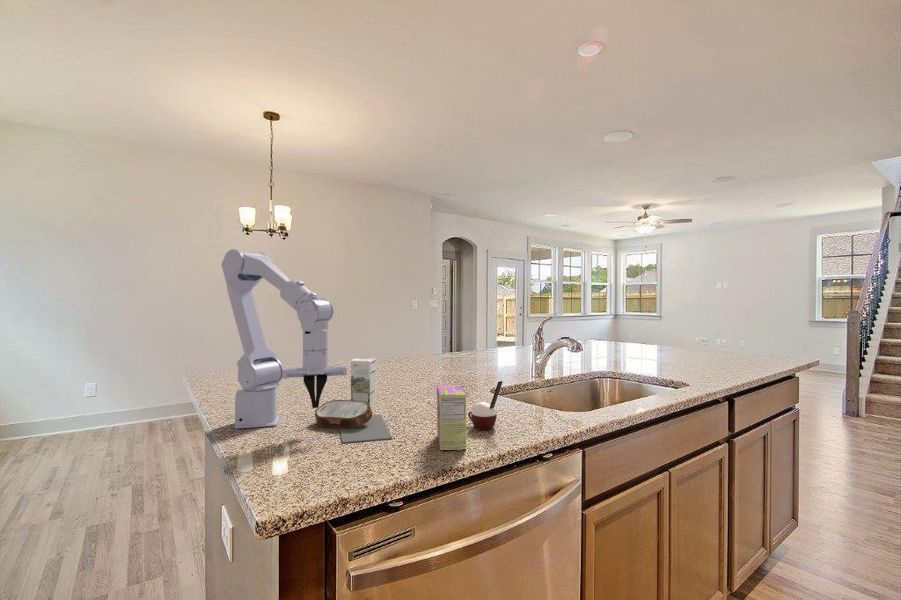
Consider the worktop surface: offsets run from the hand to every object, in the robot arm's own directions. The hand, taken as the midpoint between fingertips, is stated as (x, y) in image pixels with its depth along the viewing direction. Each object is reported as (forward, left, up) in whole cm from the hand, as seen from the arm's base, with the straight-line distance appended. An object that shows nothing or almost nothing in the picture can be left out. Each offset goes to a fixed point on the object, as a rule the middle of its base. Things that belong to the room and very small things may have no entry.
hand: (315, 407), depth 102 cm
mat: (+11, 0, -6) cm, 13 cm away
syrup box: (+13, +18, -6) cm, 23 cm away
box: (+29, -16, -6) cm, 33 cm away
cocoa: (+40, -8, -6) cm, 41 cm away
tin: (+4, +1, -4) cm, 6 cm away
